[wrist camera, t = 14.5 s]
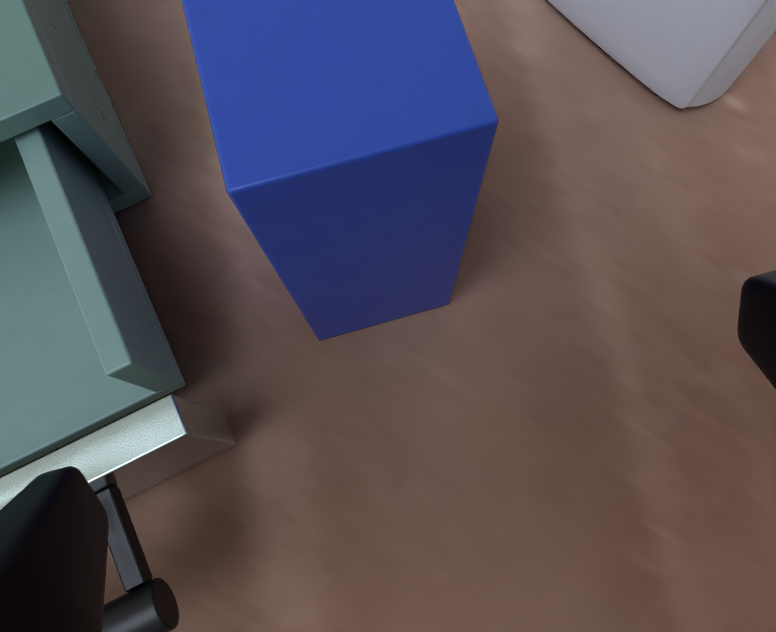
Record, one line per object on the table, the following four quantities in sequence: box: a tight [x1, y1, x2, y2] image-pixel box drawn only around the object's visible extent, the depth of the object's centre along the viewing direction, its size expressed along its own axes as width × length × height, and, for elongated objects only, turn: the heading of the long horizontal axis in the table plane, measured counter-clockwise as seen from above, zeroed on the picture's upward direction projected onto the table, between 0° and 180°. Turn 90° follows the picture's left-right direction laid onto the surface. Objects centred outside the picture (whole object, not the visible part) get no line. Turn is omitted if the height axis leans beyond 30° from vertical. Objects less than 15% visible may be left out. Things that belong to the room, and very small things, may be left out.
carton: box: [182, 0, 498, 340], centre depth 17 cm, size 7×5×12 cm
